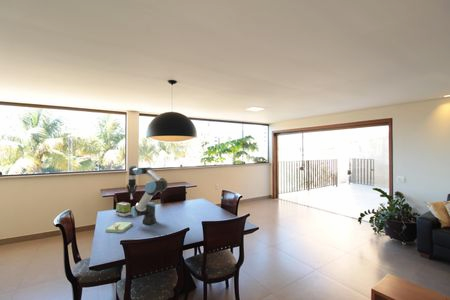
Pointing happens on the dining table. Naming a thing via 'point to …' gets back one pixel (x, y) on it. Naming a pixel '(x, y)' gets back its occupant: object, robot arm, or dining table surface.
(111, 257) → the dining table surface
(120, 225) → the putting mat
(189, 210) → the dining table surface
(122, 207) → the tea box
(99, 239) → the dining table surface
